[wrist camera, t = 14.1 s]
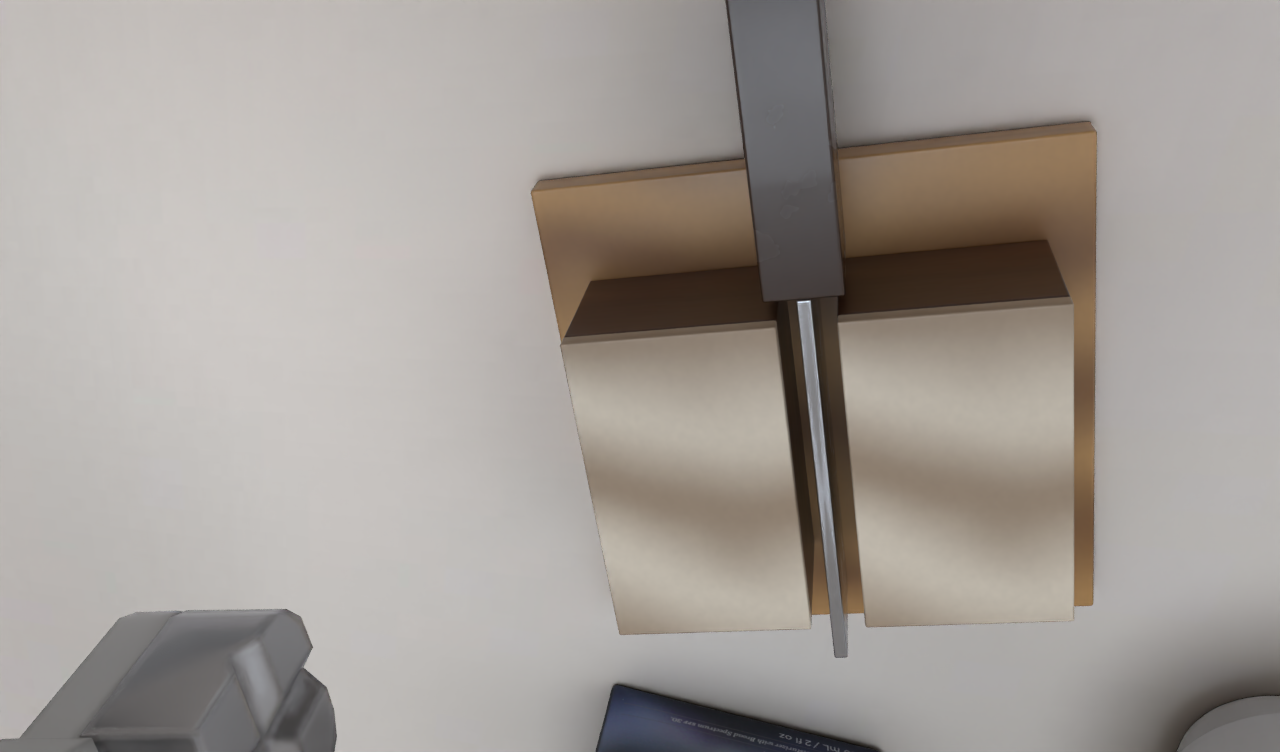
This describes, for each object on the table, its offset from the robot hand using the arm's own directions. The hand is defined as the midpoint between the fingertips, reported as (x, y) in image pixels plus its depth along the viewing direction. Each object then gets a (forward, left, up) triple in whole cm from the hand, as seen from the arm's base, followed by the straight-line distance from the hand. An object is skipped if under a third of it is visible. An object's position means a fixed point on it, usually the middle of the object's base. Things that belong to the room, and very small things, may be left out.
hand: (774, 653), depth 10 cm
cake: (+12, -1, -27) cm, 30 cm away
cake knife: (+9, -1, -26) cm, 27 cm away
